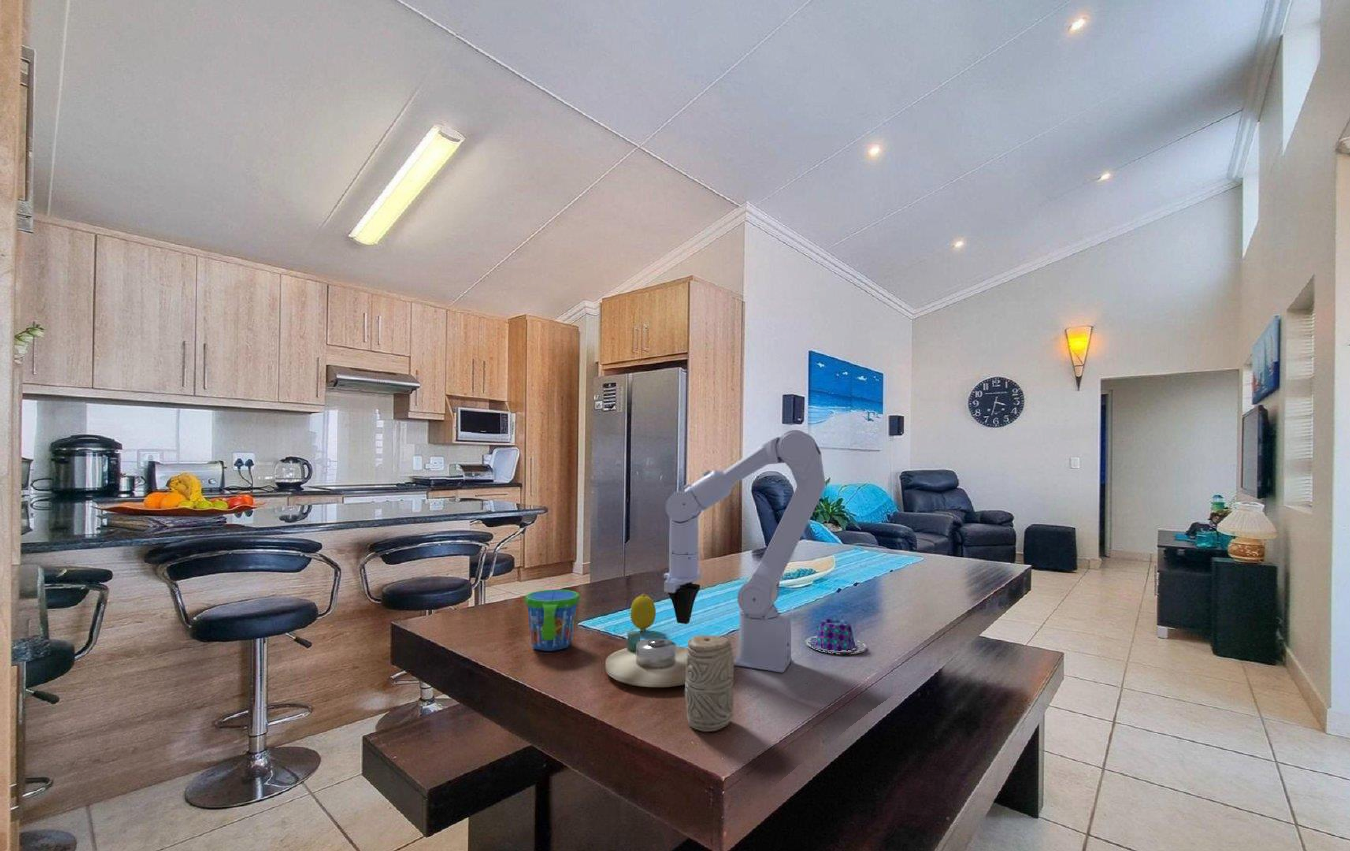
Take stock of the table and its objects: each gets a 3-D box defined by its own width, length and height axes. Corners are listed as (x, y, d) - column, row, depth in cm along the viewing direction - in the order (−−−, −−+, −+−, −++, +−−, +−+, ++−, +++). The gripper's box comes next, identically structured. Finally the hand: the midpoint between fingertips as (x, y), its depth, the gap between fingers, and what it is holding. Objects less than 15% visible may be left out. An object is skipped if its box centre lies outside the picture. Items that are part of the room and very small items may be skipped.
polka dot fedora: (873, 645, 118) (872, 620, 118) (857, 662, 108) (857, 634, 108) (816, 635, 125) (816, 611, 125) (796, 650, 115) (797, 623, 115)
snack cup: (533, 634, 121) (534, 585, 122) (582, 634, 121) (584, 586, 122) (514, 659, 106) (516, 604, 106) (571, 660, 106) (573, 604, 107)
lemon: (654, 635, 122) (655, 597, 122) (628, 634, 122) (629, 596, 122) (656, 627, 127) (656, 591, 128) (631, 627, 127) (632, 591, 128)
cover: (681, 659, 102) (682, 638, 102) (665, 672, 95) (665, 650, 95) (647, 653, 104) (647, 633, 105) (628, 665, 98) (629, 644, 98)
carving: (674, 726, 80) (675, 639, 81) (707, 710, 86) (708, 628, 86) (709, 742, 76) (710, 650, 76) (742, 723, 81) (743, 637, 82)
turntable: (721, 658, 105) (721, 636, 105) (685, 694, 88) (685, 668, 89) (634, 645, 112) (634, 624, 112) (585, 676, 95) (586, 651, 96)
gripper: (678, 546, 121) (678, 611, 120) (649, 556, 107) (648, 630, 106) (710, 548, 118) (710, 615, 117) (684, 559, 105) (683, 634, 104)
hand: (683, 622), depth 112 cm, fingers closed
